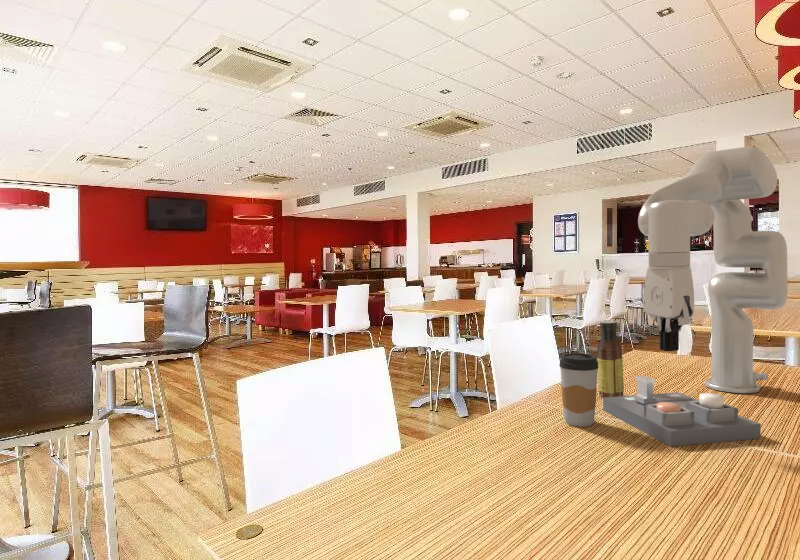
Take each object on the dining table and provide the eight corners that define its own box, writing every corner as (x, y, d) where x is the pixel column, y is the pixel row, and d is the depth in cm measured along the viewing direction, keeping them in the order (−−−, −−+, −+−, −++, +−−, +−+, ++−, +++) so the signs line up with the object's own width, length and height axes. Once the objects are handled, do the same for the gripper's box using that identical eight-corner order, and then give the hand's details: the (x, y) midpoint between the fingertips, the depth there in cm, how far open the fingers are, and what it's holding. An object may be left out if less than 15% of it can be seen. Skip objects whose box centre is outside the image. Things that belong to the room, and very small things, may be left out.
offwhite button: (712, 403, 110) (712, 392, 110) (728, 409, 106) (729, 398, 106) (694, 404, 110) (694, 393, 109) (709, 411, 105) (710, 399, 105)
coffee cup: (600, 418, 117) (599, 354, 116) (597, 430, 110) (597, 361, 109) (562, 414, 121) (561, 351, 120) (557, 425, 113) (556, 358, 112)
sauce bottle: (619, 393, 137) (619, 319, 136) (627, 399, 131) (627, 323, 130) (594, 393, 138) (593, 320, 137) (601, 399, 132) (600, 323, 131)
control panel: (677, 404, 127) (678, 382, 126) (760, 438, 103) (760, 411, 103) (603, 409, 124) (603, 387, 123) (670, 446, 100) (670, 418, 100)
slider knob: (645, 398, 121) (646, 375, 120) (656, 403, 117) (657, 379, 117) (633, 399, 120) (633, 376, 120) (644, 404, 116) (644, 380, 116)
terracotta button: (670, 412, 109) (670, 401, 109) (685, 419, 104) (685, 407, 104) (651, 414, 108) (651, 402, 108) (665, 420, 104) (665, 409, 104)
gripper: (630, 261, 111) (630, 344, 113) (677, 263, 97) (677, 358, 98) (661, 260, 113) (661, 342, 114) (713, 261, 98) (712, 356, 99)
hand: (669, 349), depth 106 cm, fingers closed
